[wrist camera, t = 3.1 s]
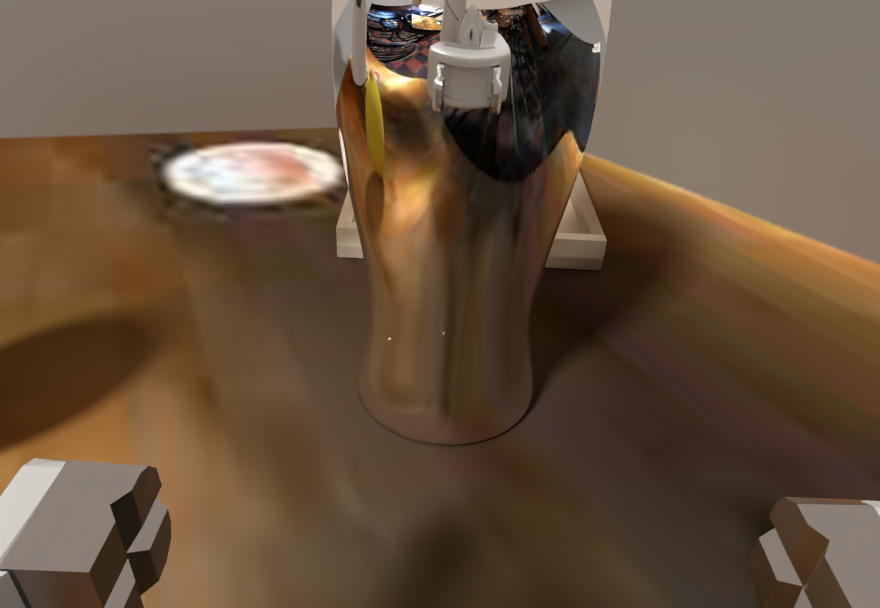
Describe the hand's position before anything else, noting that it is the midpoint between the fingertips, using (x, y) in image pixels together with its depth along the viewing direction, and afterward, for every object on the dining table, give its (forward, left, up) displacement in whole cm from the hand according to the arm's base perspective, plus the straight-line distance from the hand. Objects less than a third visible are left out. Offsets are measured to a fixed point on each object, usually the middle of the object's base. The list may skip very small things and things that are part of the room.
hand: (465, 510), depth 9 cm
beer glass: (0, +12, -8) cm, 15 cm away
